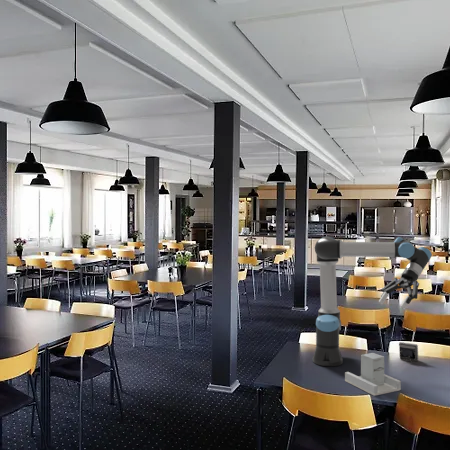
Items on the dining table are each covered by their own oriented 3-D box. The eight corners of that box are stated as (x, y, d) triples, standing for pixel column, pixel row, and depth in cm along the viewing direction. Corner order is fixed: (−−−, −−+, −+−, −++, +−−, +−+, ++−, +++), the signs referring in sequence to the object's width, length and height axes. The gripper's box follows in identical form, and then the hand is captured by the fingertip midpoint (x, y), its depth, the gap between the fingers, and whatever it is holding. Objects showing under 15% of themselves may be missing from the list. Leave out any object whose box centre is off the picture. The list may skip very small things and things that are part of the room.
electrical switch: (418, 360, 241) (418, 343, 240) (416, 364, 237) (416, 346, 236) (400, 357, 246) (399, 340, 245) (397, 361, 242) (397, 344, 241)
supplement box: (372, 387, 201) (372, 358, 200) (360, 382, 207) (360, 354, 207) (384, 384, 204) (384, 356, 204) (372, 379, 211) (372, 352, 210)
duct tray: (345, 381, 211) (345, 372, 211) (370, 376, 217) (370, 367, 217) (374, 395, 194) (374, 386, 194) (400, 390, 200) (400, 381, 200)
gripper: (436, 281, 224) (416, 315, 217) (395, 275, 246) (375, 306, 239) (429, 271, 221) (408, 305, 214) (388, 266, 243) (368, 296, 236)
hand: (391, 305), depth 227 cm, fingers open, 13 cm apart
